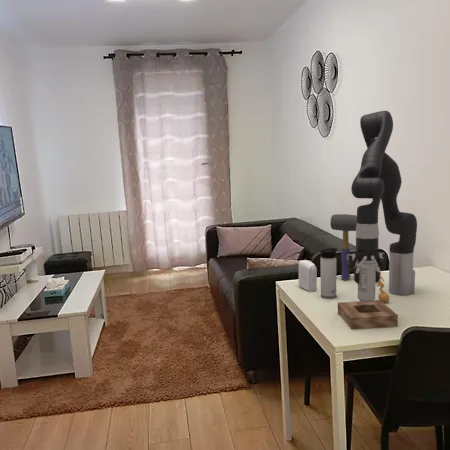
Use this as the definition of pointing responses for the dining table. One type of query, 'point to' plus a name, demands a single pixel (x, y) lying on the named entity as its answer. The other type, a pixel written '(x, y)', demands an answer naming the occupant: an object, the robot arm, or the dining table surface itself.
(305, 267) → the photo printer
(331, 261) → the travel mug
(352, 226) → the rubber mallet
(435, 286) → the dining table surface
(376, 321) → the wooden square frame
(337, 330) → the dining table surface
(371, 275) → the energy drink can
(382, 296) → the figurine
